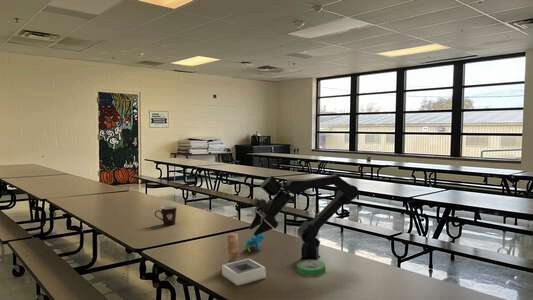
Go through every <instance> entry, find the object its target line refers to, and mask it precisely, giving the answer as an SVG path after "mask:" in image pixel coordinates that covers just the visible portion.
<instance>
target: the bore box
mask: <svg viewBox="0 0 533 300" xmlns="http://www.w3.org/2000/svg"><path fill="white" fill-rule="evenodd" d="M266 274H267V273H266V267H265V266H264V265H262V264H260V263H258V262H256V261H254V260H253V259H251V258H245V259H244V258H243V259H241V260H238V261H236V262H232V263H228V262H227V263H225V264H221V275H222V277H224V278H226V279H227V280H229V281H230V282H231V283H233V284H234V285H236V286H237V287H238V286H242V285H246V284H249V283H253V282H256V281H261V280H263V279H266V276H267V275H266Z"/></svg>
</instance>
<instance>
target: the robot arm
mask: <svg viewBox="0 0 533 300" xmlns="http://www.w3.org/2000/svg"><path fill="white" fill-rule="evenodd" d="M328 186H334V187H335V188H336V189H337V192H336V194H335V197H334V198H333V199H332V200H331V201H330V202H328V203H327V205H326V206H325V207H323V209H322V210H321V211H320V212H318V214H317V215H316V216H315V217H314V218H313V219H312V220H310V221H308V220H307V219H305V220H304V221H303V222H302V224H300V225H299V226H298V229H297V236H298V238H299V239H300V240H301V242H303V243H302V246H301V247H300V248H301V253H300V254H301V258H300V259H301V260H302V261H303V260H319V258H321V256H320V255H319V254H320V253H319V252H320V251H319V250H320V249H319V247H320V243H321V241H320V240H319V239H318V238H317V236H318V234H319V232H320V230H321V228H322V227H323V226H324V225H325V224H326V223H327V221H329V220H330V219H331V218H332V217H333V216H334V215H335V214H336V213H337V212H338V211H339V210H340V209H341V208H342V207H343V206H344V205H346V204H348V203H350V202H352V201H353V200H355V199H356V198H357V197H358V196H359V188H358V187H357V186H356V185H353V184H351V183H348V182H347V181H345V179H343V178H342V177H340V176H339V175H337V174H334V173H333V174H330V175H324V176H319V177H313V178H312V177H311V178H305V179H304V178H289V179H287V180H286V181H282V182H279V181H278V180H277V179H276V178H275V177H274V175H270V176H269V177H267V178H266V179H265V180H264V181H262V182H261V183H260V188H261V189H262V190H263V191H264V192H265V193H266V194H267V195H268V196H269V197H273V198H272V199H271V200H270V199H268V200H266V199H263V198H259V197H256V196H255V197H254V199H253V201H252V205H253V207H255V208H254V217H253V220H252V222H251V223H250V225H249V227H248V229H250V230H253V229H255V228H256V229H255V231H254V233H253V236H255V237H256V236H257V235H258V236H260V234H264V233H265V232H269V231H271V230H273V229H276V228H278V226H279V221H277V220H276V217H277V215H278V214H279V213H280V214H281V213H282V212H283V209H284V208H285V206H286V205H287V204H288V203H289V202H291V203H293V204H295V203H296V199H295V195H298V194H302V193H304V192H305V191H307V190H310V189H315V188H322V187H323V188H324V187H328ZM283 190H284V191H283ZM291 194H293V195H291Z"/></svg>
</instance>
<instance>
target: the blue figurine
mask: <svg viewBox="0 0 533 300" xmlns="http://www.w3.org/2000/svg"><path fill="white" fill-rule="evenodd" d="M265 237H266V236H265V235H264V234H263V233H261V234H259V235H257V236H255V237H254V236H252V237H251V238H250V239H247V240H246V242H243V243H242V244H243V246H244V248H246V249H247V250H248V252H249V253H251V252H252V251H251V248H254V247H256V249H257V251H258V252H260V251H261V247H259V246H260V245H259V243H262V242H263V240H264V239H265Z"/></svg>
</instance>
